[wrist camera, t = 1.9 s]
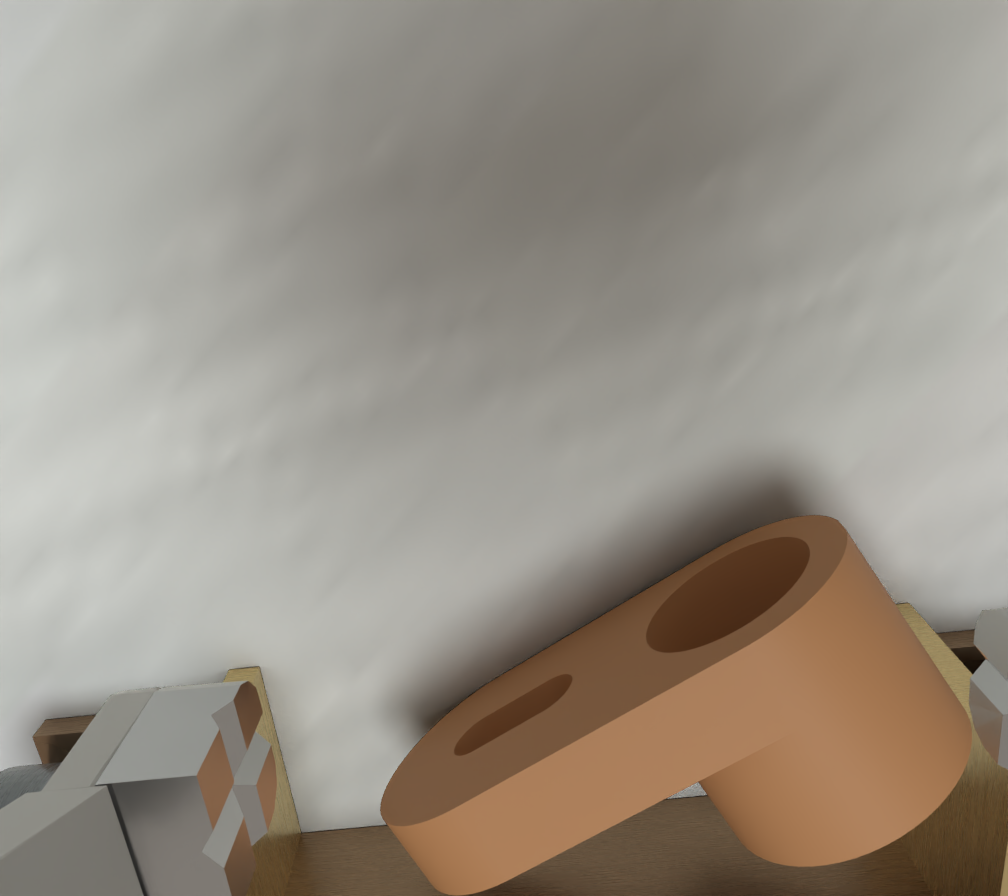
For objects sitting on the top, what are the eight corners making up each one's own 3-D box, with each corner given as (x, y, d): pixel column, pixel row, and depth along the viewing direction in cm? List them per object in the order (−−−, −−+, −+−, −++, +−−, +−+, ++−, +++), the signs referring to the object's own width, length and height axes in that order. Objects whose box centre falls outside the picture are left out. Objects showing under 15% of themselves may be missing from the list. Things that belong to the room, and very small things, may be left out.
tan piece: (882, 571, 21) (1021, 781, 22) (812, 491, 29) (915, 646, 30) (348, 867, 25) (477, 1037, 26) (415, 726, 33) (512, 858, 34)
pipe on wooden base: (9, 691, 32) (-188, 915, 23) (1142, 580, 31) (1419, 769, 22) (85, 888, 36) (-58, 1151, 27) (1101, 796, 35) (1323, 1037, 26)
